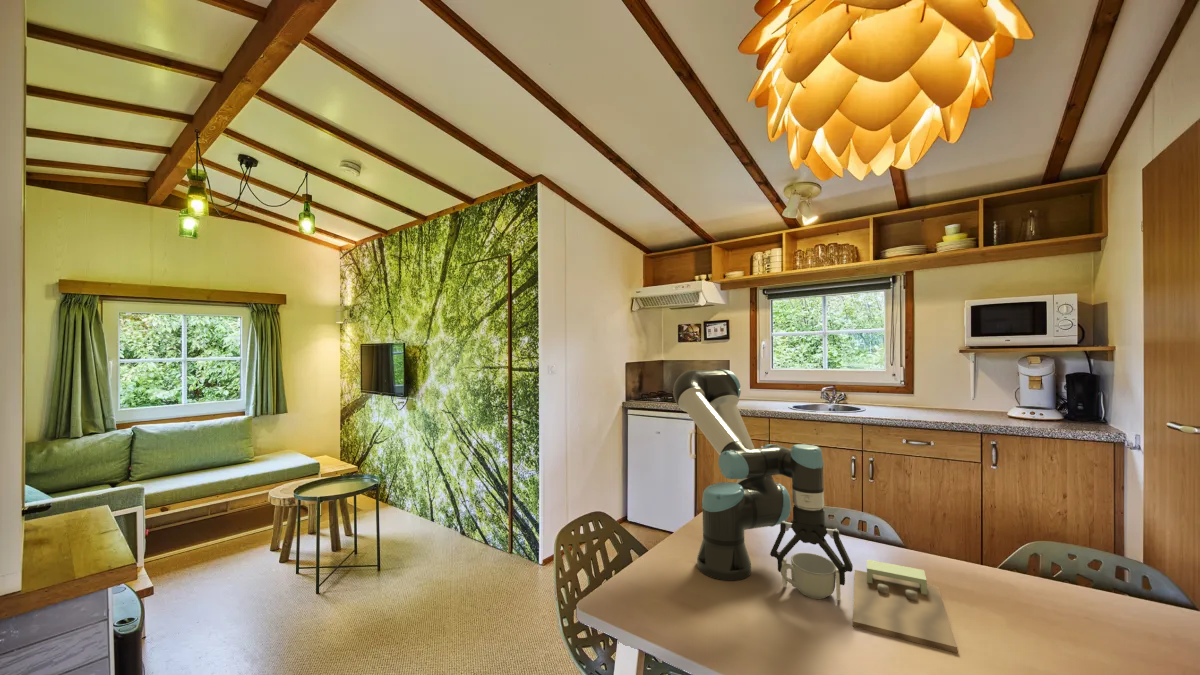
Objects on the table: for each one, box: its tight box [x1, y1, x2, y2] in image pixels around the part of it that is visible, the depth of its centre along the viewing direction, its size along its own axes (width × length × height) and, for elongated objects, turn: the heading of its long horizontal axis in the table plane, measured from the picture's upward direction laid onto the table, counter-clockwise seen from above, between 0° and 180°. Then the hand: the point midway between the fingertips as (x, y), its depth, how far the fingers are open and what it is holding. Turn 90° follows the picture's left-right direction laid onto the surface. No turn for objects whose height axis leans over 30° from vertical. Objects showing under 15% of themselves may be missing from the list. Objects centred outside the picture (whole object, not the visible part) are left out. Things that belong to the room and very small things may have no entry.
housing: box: [866, 559, 928, 595], centre depth 121 cm, size 13×6×4 cm, turn 60°
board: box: [852, 569, 958, 654], centre depth 112 cm, size 19×28×3 cm
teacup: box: [780, 552, 837, 600], centre depth 119 cm, size 14×11×8 cm
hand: (811, 590), depth 119 cm, fingers closed on teacup, 12 cm apart
